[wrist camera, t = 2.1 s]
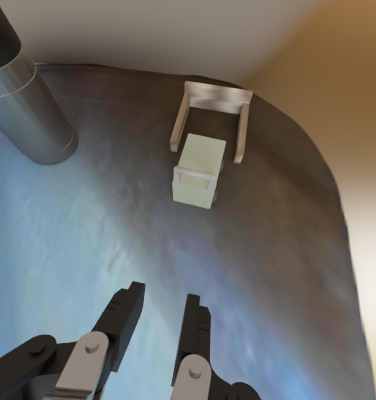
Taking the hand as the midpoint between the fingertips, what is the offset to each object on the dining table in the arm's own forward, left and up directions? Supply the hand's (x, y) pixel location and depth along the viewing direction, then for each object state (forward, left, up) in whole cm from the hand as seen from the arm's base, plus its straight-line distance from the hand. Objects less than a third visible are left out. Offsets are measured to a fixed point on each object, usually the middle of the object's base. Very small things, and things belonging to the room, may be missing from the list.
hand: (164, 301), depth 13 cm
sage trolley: (0, +21, -20) cm, 29 cm away
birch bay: (0, +33, -20) cm, 39 cm away
